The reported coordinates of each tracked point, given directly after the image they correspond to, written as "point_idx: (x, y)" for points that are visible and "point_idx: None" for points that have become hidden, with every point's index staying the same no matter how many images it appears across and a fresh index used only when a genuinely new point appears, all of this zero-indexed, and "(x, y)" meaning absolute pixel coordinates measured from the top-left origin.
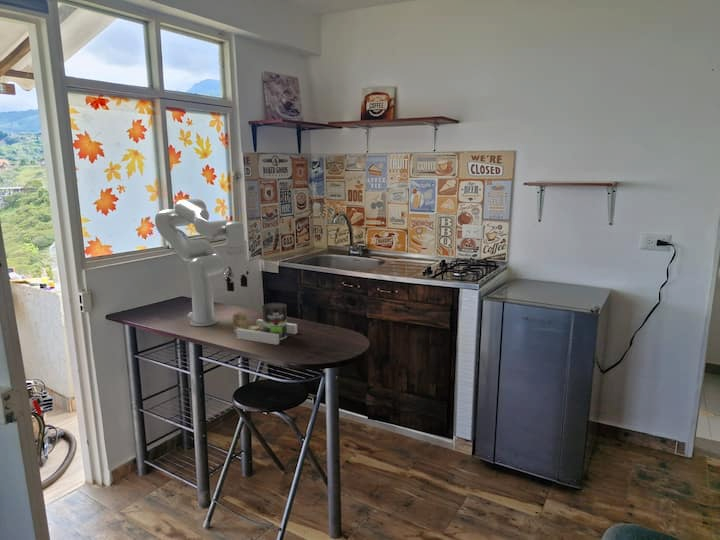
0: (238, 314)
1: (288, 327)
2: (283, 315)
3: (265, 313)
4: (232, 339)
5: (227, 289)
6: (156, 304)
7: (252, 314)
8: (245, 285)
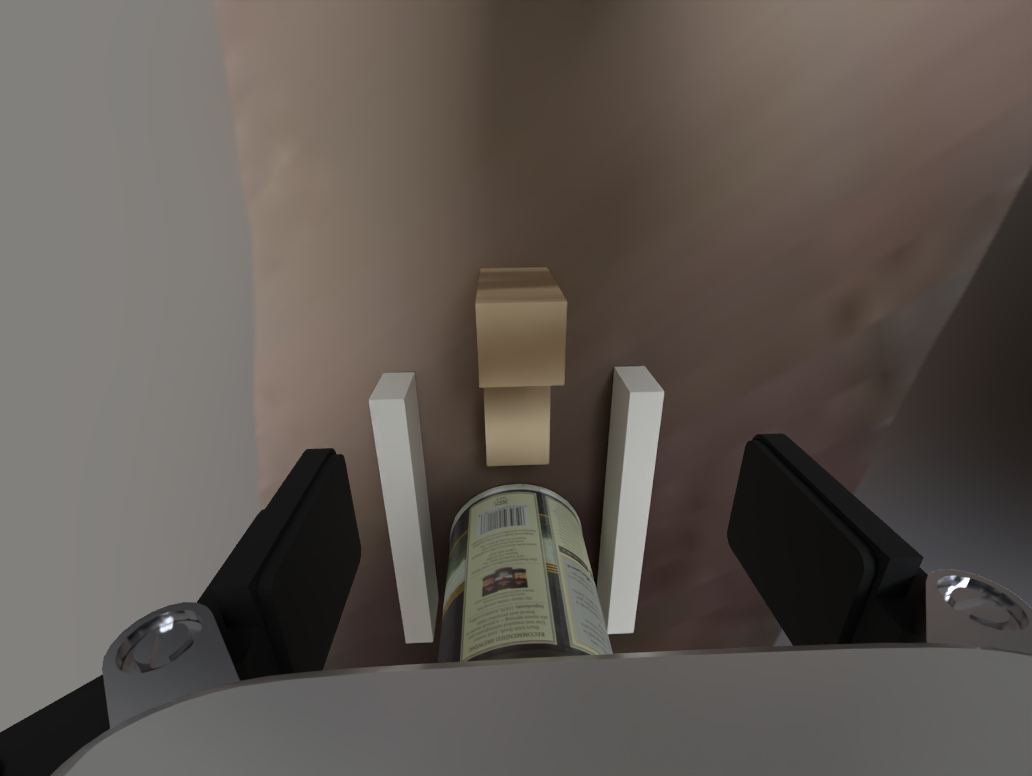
0: (491, 359)
1: (606, 588)
2: None
3: None
4: (354, 359)
5: (301, 464)
6: None
7: (983, 89)
8: (737, 542)
